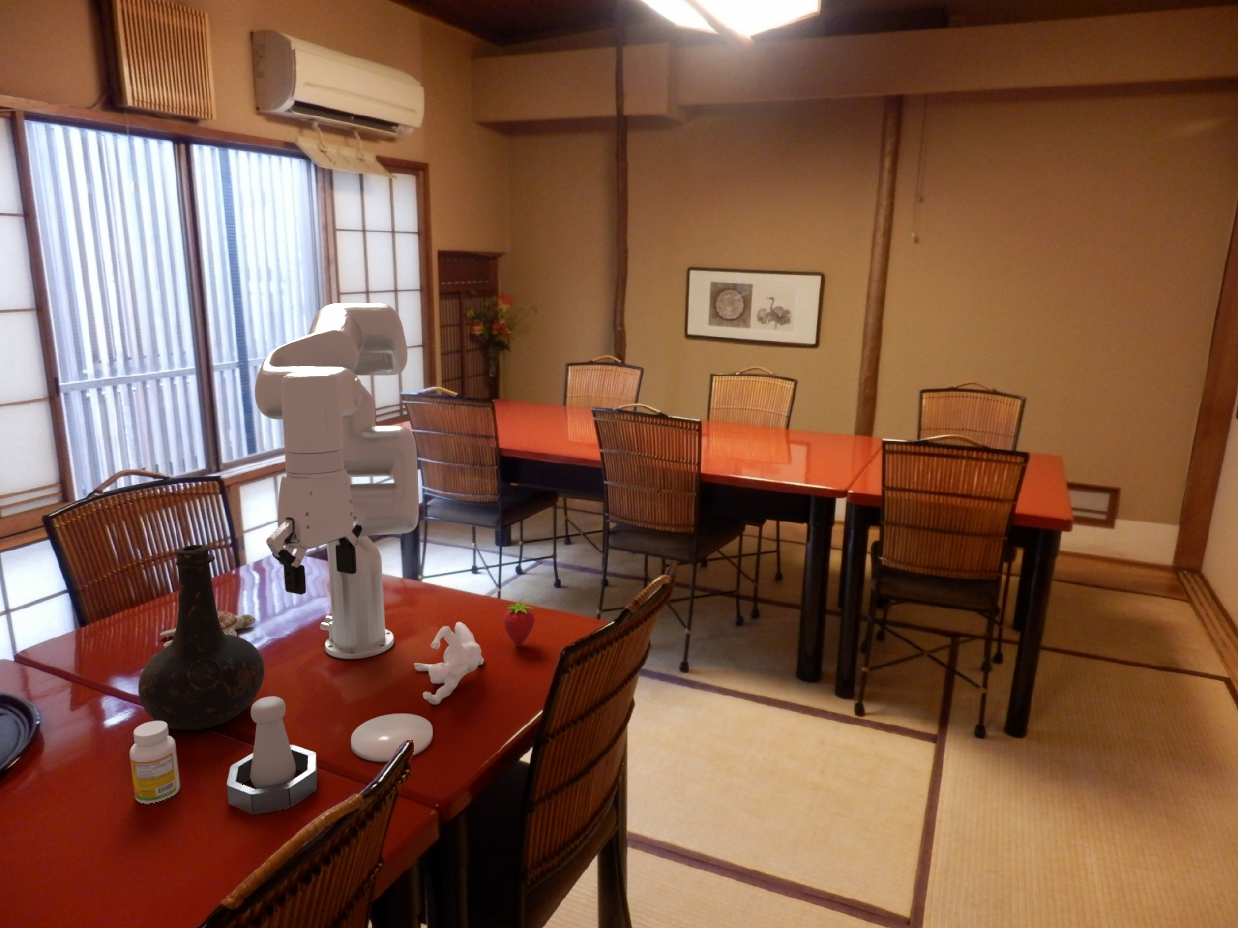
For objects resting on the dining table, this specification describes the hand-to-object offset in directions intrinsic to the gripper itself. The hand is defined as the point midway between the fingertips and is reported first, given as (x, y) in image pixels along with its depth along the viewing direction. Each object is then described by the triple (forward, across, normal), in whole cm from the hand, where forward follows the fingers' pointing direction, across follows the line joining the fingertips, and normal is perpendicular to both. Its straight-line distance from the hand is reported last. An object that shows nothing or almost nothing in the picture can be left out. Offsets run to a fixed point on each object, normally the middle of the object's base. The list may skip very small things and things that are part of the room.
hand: (322, 582), depth 116 cm
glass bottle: (+26, 0, -26) cm, 37 cm away
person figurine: (+27, -26, +3) cm, 37 cm away
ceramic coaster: (+27, -8, +5) cm, 28 cm away
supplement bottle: (+27, +17, -15) cm, 35 cm away
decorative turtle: (+26, -22, -52) cm, 62 cm away
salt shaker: (+27, +9, -2) cm, 29 cm away
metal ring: (+27, +9, -2) cm, 29 cm away
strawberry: (+26, -45, +5) cm, 52 cm away
